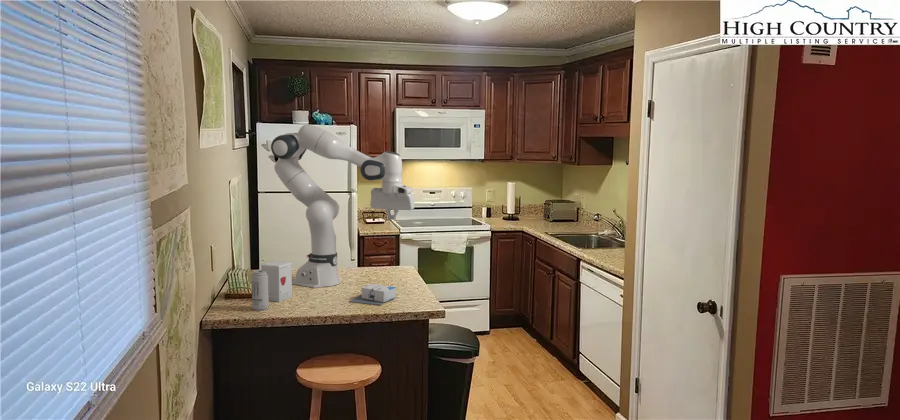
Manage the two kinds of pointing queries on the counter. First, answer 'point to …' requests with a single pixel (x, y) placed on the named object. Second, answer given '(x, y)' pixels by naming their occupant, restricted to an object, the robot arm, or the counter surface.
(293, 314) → the counter surface
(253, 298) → the energy drink can
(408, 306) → the counter surface
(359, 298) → the mat
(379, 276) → the counter surface
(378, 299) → the ink box
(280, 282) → the supplement box
